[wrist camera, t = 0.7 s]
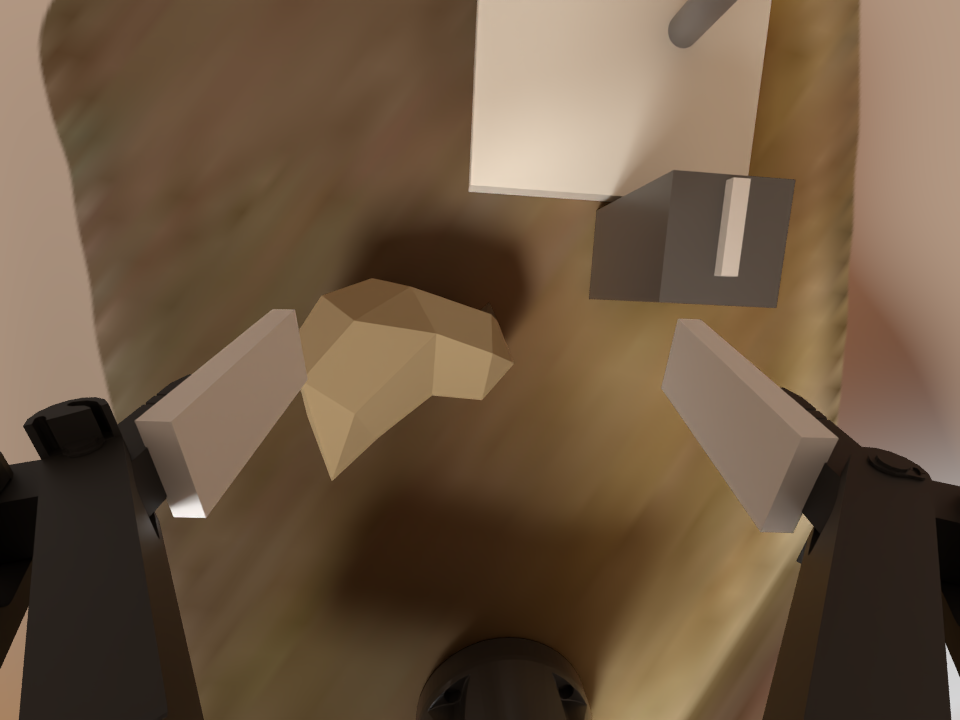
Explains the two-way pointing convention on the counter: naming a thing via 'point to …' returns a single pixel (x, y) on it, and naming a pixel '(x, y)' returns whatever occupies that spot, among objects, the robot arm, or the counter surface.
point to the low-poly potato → (390, 361)
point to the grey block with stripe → (694, 241)
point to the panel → (612, 93)
